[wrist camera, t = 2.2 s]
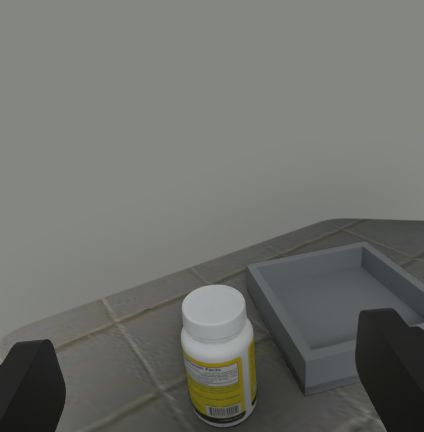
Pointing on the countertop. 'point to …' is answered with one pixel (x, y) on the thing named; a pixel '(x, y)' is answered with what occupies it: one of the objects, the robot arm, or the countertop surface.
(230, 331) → the supplement bottle
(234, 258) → the countertop surface
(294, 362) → the bin
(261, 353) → the countertop surface
